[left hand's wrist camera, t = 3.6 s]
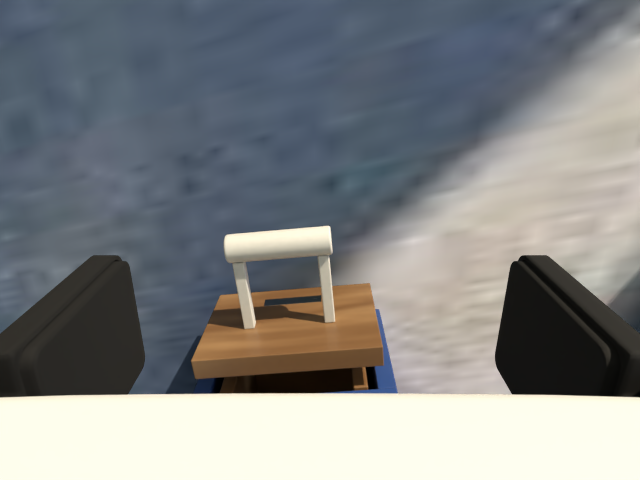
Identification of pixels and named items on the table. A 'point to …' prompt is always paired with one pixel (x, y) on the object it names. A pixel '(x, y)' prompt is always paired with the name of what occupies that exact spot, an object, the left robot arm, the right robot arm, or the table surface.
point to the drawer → (289, 325)
